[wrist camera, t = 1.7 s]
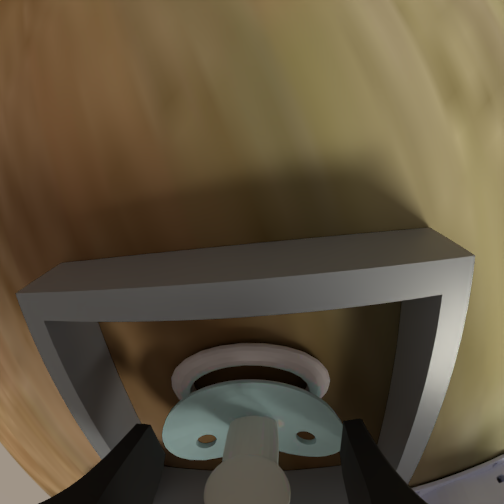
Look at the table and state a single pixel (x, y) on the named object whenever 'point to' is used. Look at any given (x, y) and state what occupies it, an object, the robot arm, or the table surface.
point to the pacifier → (250, 421)
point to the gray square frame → (259, 304)
